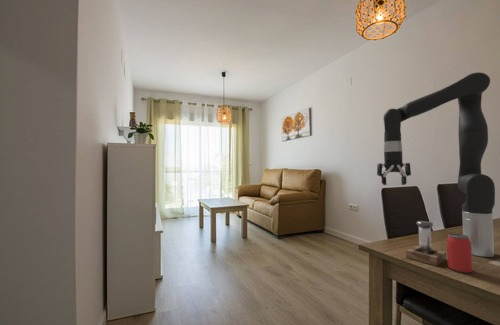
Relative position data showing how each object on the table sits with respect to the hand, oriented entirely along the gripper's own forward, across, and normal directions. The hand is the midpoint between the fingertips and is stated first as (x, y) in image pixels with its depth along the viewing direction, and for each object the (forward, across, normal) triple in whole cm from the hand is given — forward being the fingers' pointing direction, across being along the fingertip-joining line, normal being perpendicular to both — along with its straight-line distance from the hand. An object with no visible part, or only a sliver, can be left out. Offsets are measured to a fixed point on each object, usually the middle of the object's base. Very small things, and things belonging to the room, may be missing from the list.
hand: (394, 184), depth 115 cm
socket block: (+28, +3, -19) cm, 34 cm away
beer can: (+28, +8, -28) cm, 41 cm away
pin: (+28, +3, -19) cm, 34 cm away
